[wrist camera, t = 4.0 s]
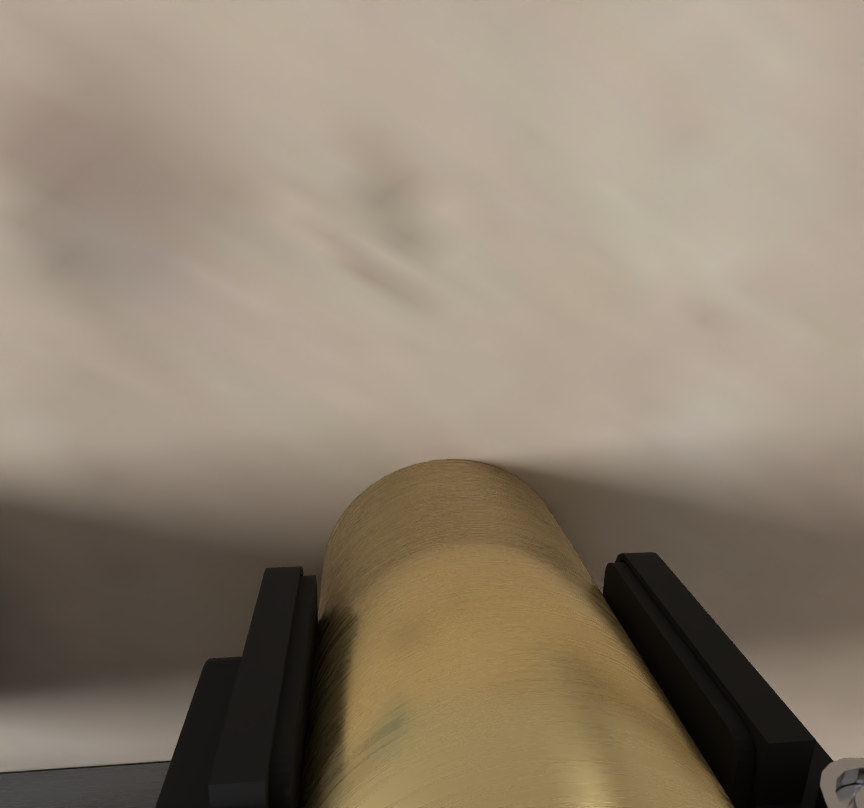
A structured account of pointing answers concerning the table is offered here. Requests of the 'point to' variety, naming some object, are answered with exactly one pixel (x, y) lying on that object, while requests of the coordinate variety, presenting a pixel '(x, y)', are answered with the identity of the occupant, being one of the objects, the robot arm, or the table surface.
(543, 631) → the brass cylinder plug
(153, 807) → the jig
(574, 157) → the table surface
